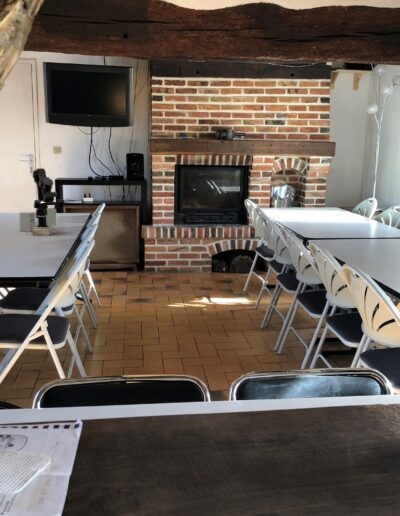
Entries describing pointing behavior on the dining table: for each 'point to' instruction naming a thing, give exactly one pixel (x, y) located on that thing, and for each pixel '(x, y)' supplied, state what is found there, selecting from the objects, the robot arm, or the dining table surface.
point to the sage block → (51, 216)
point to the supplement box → (27, 221)
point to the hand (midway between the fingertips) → (51, 214)
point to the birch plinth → (41, 231)
